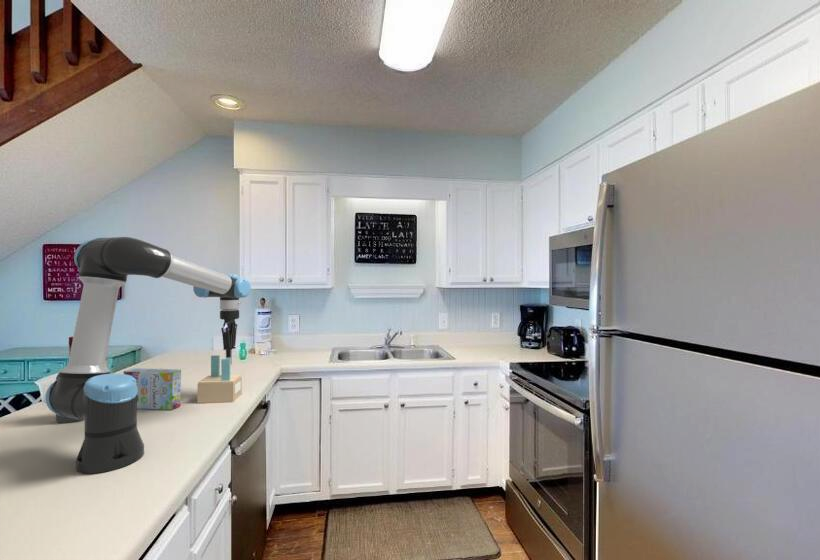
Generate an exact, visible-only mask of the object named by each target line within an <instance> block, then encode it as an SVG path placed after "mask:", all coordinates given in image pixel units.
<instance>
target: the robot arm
mask: <svg viewBox="0 0 820 560" xmlns="http://www.w3.org/2000/svg"><path fill="white" fill-rule="evenodd" d="M73 260H74V261H73V262H74V264H75V266H76V267H77V269H78V270H79V272H78V279H79V280H80V281H81V282H82V284H83V287H82V292H81V296H80V300H79V301H80V303H79V307H78V311H77V317H76V322H75V327H74V331H73V332H74V333H73V336H72V337H73V341H72V346H71V351H70V356H69V355H68V356H69V357H68V362H67V364H66V365H65V366H64V367H63V368H61V369H59V373H58V374H59V376H58V379H57V380H56V379H55V380H54V382H53V383H51V384H50V385H49V386H48V388H47V390H46V393H45V400H44V401H45V405H46V407H48V409H49V410H50V411H51V412H52V413H54V414H55V415H56V414H58V415H60V416H62V417H67V418H74V419H79V420H83V421H84V438H83V442H82V444H81V446H80V449H79V452H78V454H77V457H76V459H75V460H76V461H75V470H76V471H77V472H79V473H82V474H99V473H105V472H111V471H113V470H114V471H115V470H118V469H120V468H123V467H126V466H129V465H131V464H132V463H135V462H137V461H139V460H140V459H141V458H142V457H143V456H144V455H145V443H144V442H143V439H142V437H141V434H140V432H139V430H138V417H137V416H138V409H137V392H138V389H137V383H136V380H135V378H134V377H132V376H130V375H126V374H124V373H111V370H110V369H109V367H108V366H107V367H106V366H105V362H106V359H107V355H108V350H109V345H110V339H111V334H112V328H113V323H114V317H115V314H116V313H115V312H116V306H117V301H118V296H119V290H120V288H121V287H122V286H124V285H126V283H127V279H128V276H146V277H150V278H154V279H160V278H165V279H169V280H172V281H175V282H179V283H183V284H187V285H188V286H192V287H193V288H192V289H193V293H194V296H196V297H198V298H219V310H220V311H219V319H221V320H224V321H223V324H222V325H223V327H221V329H220V330H221V334H222V335H221V336H222V345H223V349H222V350H224V351H225V359H230V366H233V365H234V349H236V339H237V331H238V330H237V329H238V324H237V323H236V320H238V319H239V318H240V310H239V309H240V305H241V302H240V298H241V299H242V298H243V299H245V298H247V297H248V296H249V295H250V293H251V289H252V287H251V283H250V281H249V280H247V279H245V278H241V277H240V276H239V274H235V273H234V274H233V273H231V274H230V273H221V272H219V271H216V270H213V269H211V268H208V267H205V266H202V265H200V264H197V263H195V262H191V261H190V260H189V261H188V260H187V259H183V258H181V257H178V256H175V255H173V254H172V253H171V252H170V250H168V249H167V248H162V247H160V246H157V245H155V244H152V243H149V242H147V241H144V240H141V239H137V238H134V237H128V236H117V237H96V238H92V239H89V240H86V241H84V242H82V243H81V244H80V245H79V246H78V247H77V249H76V250H75V252H74V256H73Z"/></svg>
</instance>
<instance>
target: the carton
mask: <svg viewBox="0 0 820 560" xmlns="http://www.w3.org/2000/svg"><path fill="white" fill-rule="evenodd" d="M242 376H243V375H241V377H240V378H238V379H237V380H236V381H235V382H233V383H204V384H198V383H197V404H218V403H219V404H220V403H222V404H223V403H234V402H235V401H236V400H237V399H238V398H239V397H241V396H242V394H243V393H242V390H243V389H242V388H243V386H242V385H243V384H242V383H243V382H242V380H243V377H242Z"/></svg>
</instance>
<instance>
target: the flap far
mask: <svg viewBox="0 0 820 560" xmlns="http://www.w3.org/2000/svg"><path fill="white" fill-rule="evenodd" d="M220 358H221V357H220V355H219V354H217V355H210V375H207V376H205V377H204V378H203V379H217V378H221V375H220V372H221V371H220V368H221V366H220V364H221V363H220V362H221V361H220V360H221V359H220ZM241 376H242V374H230V378H237V379H238V378H240V377H241Z"/></svg>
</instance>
